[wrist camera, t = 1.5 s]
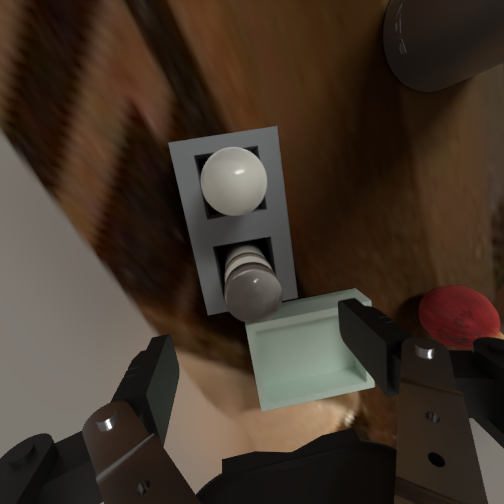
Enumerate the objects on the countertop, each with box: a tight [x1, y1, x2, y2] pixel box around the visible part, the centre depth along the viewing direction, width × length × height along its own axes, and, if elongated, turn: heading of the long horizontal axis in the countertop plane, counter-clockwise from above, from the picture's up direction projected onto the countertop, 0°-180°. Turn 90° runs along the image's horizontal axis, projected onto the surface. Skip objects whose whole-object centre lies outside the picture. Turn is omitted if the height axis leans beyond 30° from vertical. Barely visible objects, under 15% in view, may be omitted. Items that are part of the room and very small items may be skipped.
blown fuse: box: [225, 240, 283, 323], centre depth 20 cm, size 4×4×9 cm
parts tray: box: [245, 288, 374, 412], centre depth 26 cm, size 12×10×3 cm
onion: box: [418, 285, 504, 349], centre depth 24 cm, size 6×6×8 cm
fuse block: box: [168, 126, 298, 315], centre depth 22 cm, size 8×14×4 cm, turn 9°
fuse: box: [201, 147, 267, 216], centre depth 18 cm, size 4×4×9 cm
